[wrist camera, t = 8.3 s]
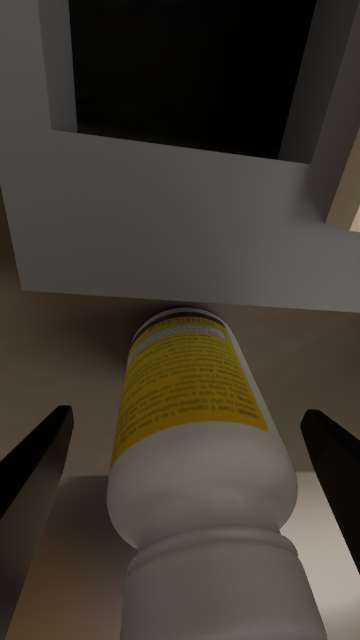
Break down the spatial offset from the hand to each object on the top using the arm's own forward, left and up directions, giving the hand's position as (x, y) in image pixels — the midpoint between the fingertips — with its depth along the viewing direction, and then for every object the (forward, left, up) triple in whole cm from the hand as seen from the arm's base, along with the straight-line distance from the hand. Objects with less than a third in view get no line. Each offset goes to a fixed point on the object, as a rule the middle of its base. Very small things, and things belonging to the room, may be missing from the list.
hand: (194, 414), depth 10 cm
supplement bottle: (0, 0, -4) cm, 4 cm away
